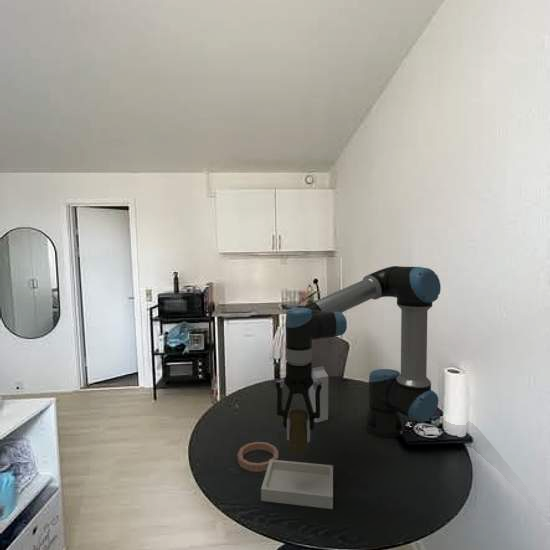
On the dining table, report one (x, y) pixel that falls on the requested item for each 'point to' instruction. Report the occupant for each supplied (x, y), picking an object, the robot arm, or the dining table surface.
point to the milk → (322, 377)
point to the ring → (256, 446)
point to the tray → (298, 484)
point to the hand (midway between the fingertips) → (298, 438)
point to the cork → (298, 430)
